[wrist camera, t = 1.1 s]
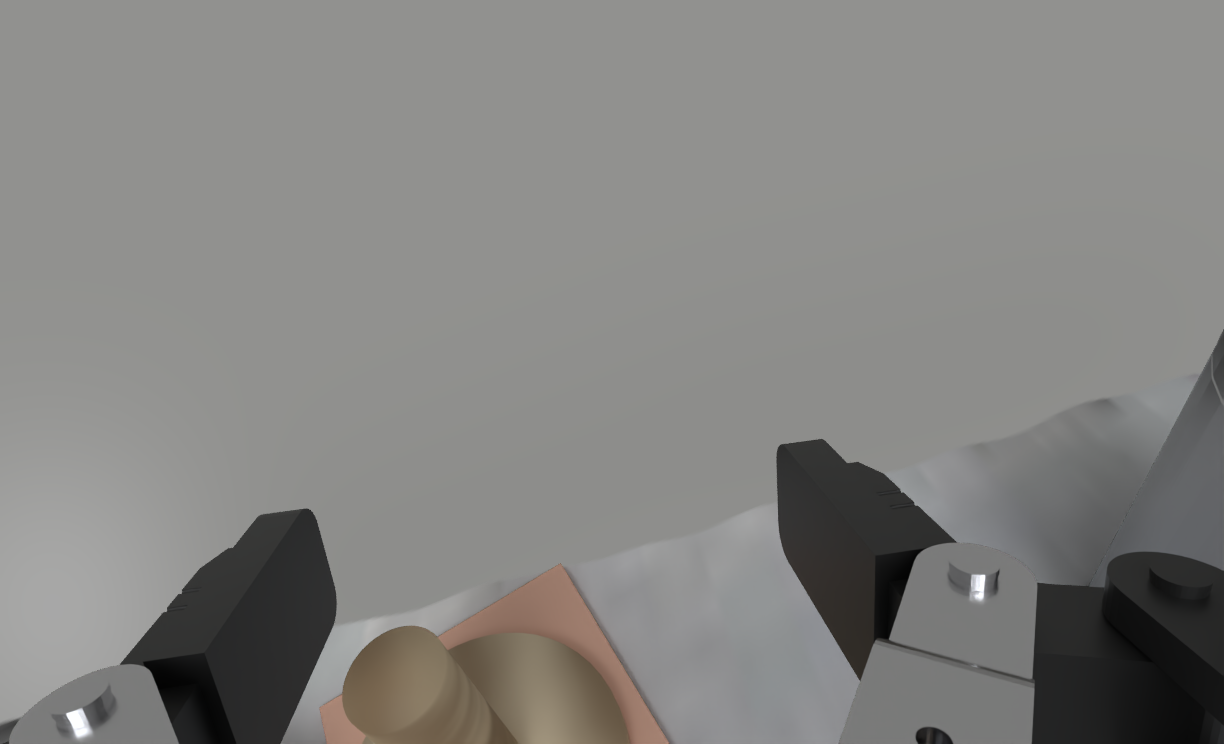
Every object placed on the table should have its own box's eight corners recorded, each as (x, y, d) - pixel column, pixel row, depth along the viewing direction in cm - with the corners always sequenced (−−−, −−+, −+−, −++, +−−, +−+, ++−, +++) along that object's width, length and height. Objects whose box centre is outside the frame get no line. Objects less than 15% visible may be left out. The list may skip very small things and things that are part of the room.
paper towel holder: (556, 594, 34) (495, 468, 27) (691, 834, 26) (651, 734, 19) (325, 735, 31) (194, 632, 24) (392, 1060, 23) (220, 1035, 16)
